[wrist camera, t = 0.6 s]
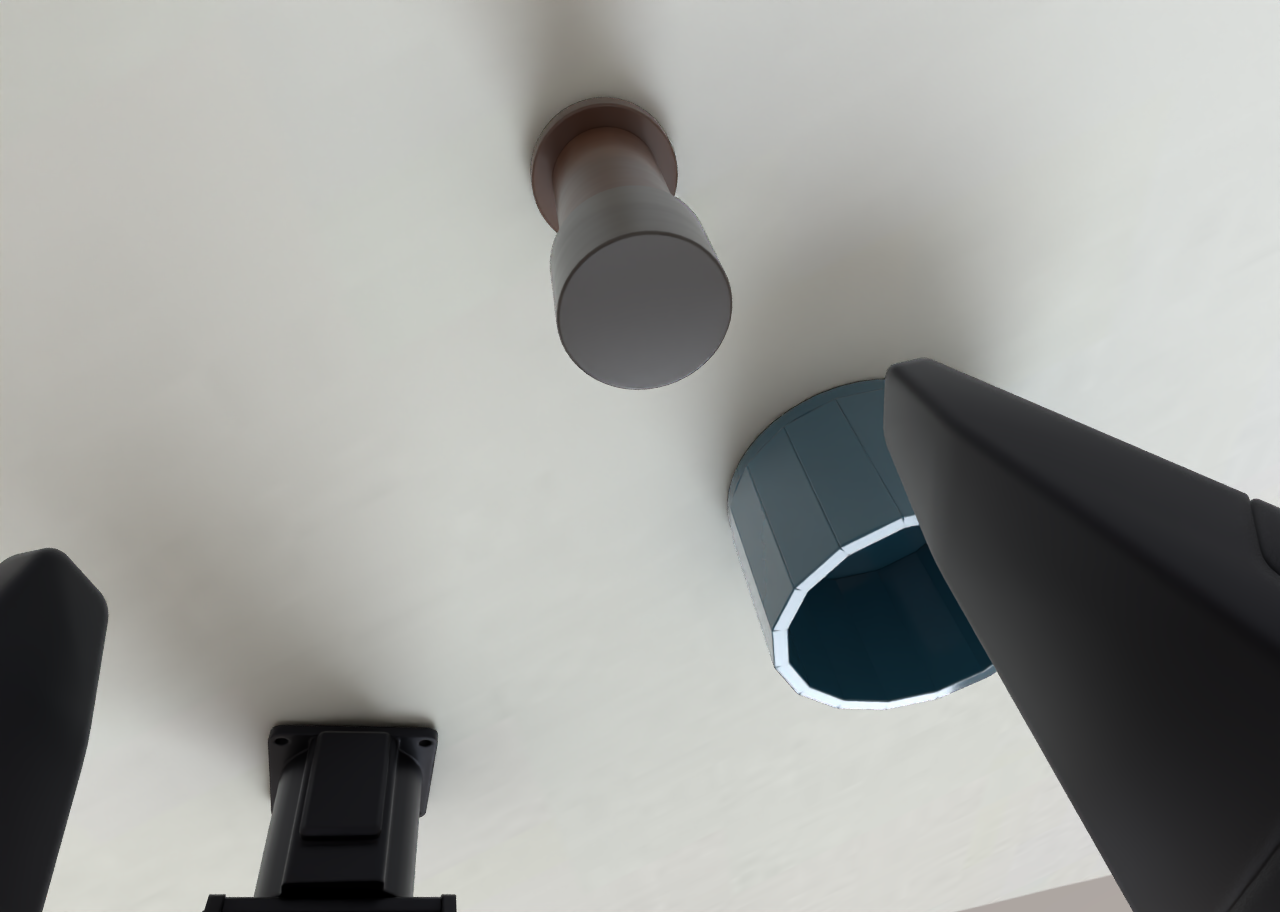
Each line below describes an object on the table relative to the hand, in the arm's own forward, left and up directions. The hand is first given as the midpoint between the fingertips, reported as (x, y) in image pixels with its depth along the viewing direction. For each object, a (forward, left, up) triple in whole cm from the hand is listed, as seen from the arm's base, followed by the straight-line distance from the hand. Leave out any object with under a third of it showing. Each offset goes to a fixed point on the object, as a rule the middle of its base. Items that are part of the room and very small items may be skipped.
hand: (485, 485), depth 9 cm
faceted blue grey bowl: (-10, -14, -13) cm, 22 cm away
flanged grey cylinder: (-1, -3, -13) cm, 14 cm away
